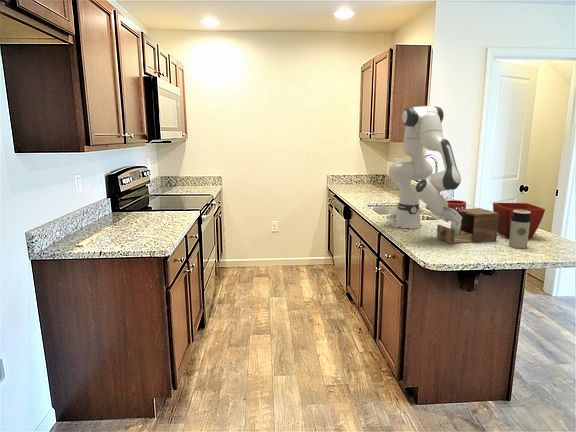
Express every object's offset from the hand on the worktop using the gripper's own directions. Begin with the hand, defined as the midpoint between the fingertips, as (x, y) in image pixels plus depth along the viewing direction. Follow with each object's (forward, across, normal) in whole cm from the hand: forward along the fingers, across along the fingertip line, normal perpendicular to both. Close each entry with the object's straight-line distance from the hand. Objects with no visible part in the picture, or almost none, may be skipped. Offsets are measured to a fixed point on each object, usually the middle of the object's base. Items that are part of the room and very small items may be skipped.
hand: (453, 223), depth 208 cm
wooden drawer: (+7, 0, +6) cm, 9 cm away
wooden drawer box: (+17, 0, -3) cm, 17 cm away
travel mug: (+24, -18, -10) cm, 32 cm away
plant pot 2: (+35, 0, -21) cm, 41 cm away
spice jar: (+7, 0, +5) cm, 8 cm away
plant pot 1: (+31, +44, -17) cm, 56 cm away
